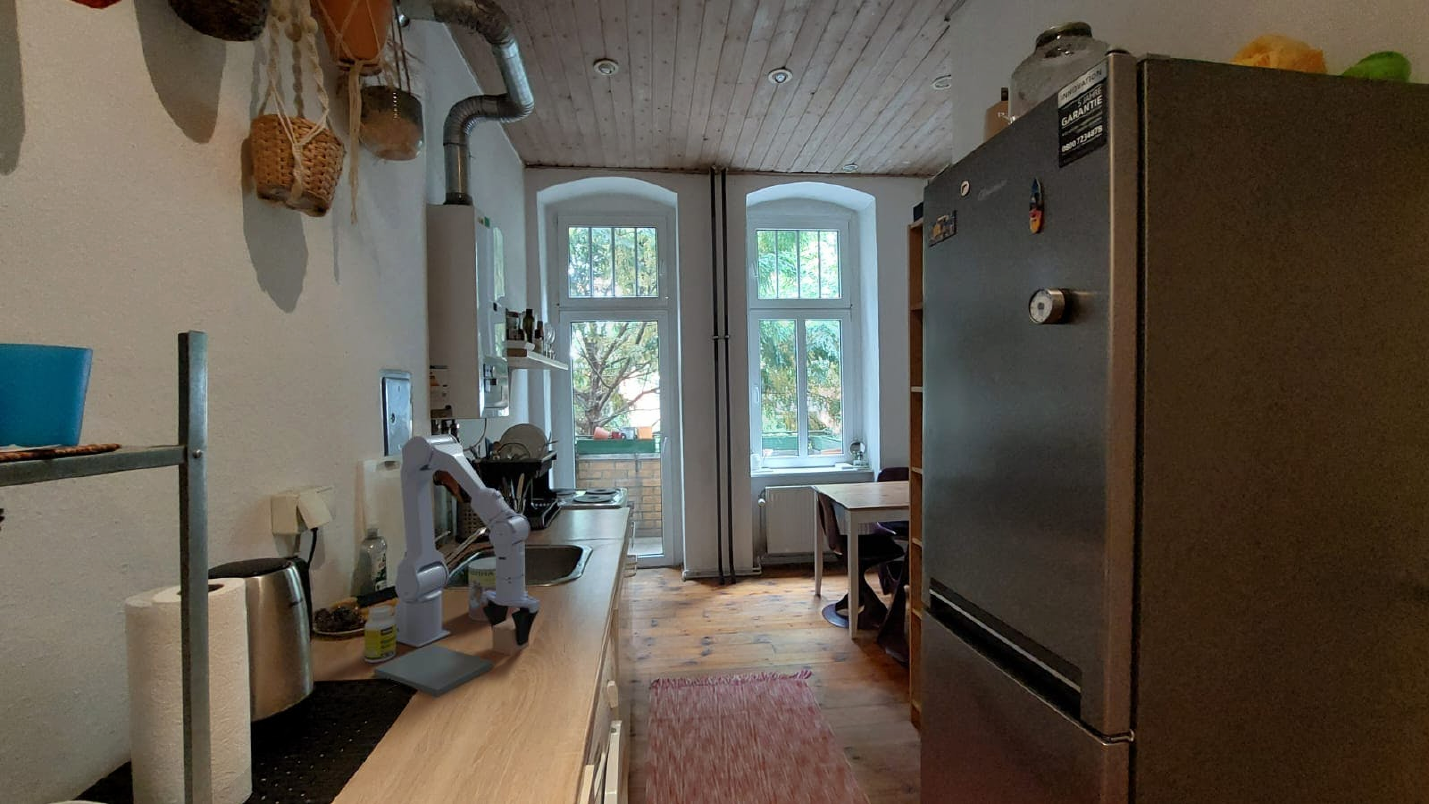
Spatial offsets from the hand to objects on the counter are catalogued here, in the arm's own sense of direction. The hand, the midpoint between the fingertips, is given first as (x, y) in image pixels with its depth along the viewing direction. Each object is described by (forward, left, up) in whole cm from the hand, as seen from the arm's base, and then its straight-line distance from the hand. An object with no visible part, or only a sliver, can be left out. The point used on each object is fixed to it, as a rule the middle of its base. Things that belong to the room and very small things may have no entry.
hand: (511, 640), depth 118 cm
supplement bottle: (-20, -15, -2) cm, 25 cm away
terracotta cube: (0, 0, -2) cm, 2 cm away
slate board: (-5, -14, -1) cm, 15 cm away
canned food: (-20, +13, -2) cm, 24 cm away
